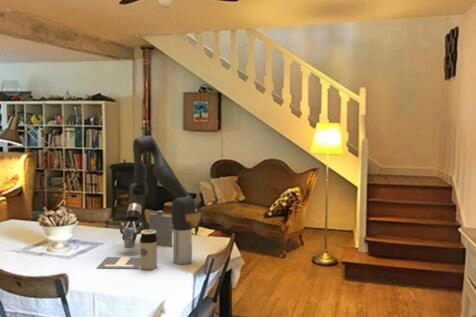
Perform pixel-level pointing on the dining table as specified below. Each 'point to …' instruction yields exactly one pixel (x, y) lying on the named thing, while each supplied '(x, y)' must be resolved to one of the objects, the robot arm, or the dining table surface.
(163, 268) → the dining table surface
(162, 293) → the dining table surface
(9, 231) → the dining table surface
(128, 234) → the slate block
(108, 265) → the letter board
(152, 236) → the travel mug
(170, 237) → the hip flask
